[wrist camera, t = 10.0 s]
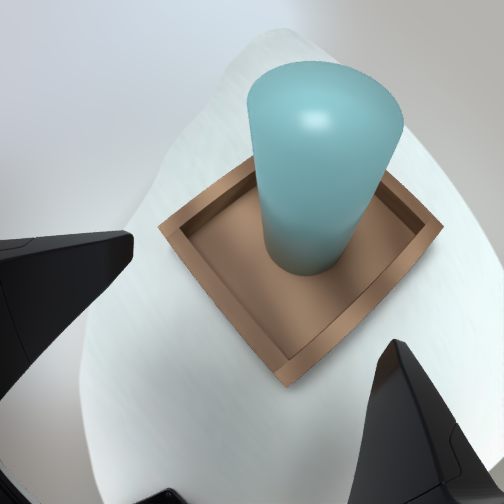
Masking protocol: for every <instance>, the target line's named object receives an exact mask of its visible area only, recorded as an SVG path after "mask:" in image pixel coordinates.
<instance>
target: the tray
mask: <svg viewBox="0 0 504 504" xmlns="http://www.w3.org/2000/svg"><path fill="white" fill-rule="evenodd" d="M443 227H444V226H443V225H442V224H441V223H440V222H439V221H438V220H437V219H436V218H435V217H434V216H433V214H432V213H431V212H430V211H429V210H428V209H427V208H426V207H425V206H424V205H423V204H422V203H421V202H420V201H419V200H418V199H417V198H416V197H415V196H414V195H413V194H412V193H410V192H409V191H408V190H407V189H406V188H405V187H404V186H403V185H402V184H401V183H400V182H399V181H398V180H397V179H395V178H394V177H393V176H392V175H391V174H390V173H389V172H388V171H387V170H385V172H384V174H383V176H382V178H381V180H380V182H379V185H378V187H377V189H376V191H375V193H374V195H373V197H372V199H371V201H370V203H369V205H368V206H367V208H366V210H365V212H364V214H363V216H362V218H361V220H360V222H359V224H358V226H357V228H356V229H355V231H354V233H353V235H352V237H351V239H350V240H349V242H348V244H347V246H346V248H345V250H344V251H343V253H342V255H341V257H340V258H339V260H338V261H337V262H336V263H335V264H334V265H333V266H332V267H331V268H330V269H328V270H326V271H325V272H322V273H320V274H316V275H310V276H302V275H296V274H292V273H290V272H287V271H285V270H284V269H282V268H281V267H279V266H278V265H277V264H276V263H275V262H274V261H273V260H272V259H271V257H270V256H269V254H268V252H267V250H266V247H265V243H264V235H263V226H262V218H261V210H260V202H259V194H258V186H257V178H256V170H255V162H254V155H253V156H252V157H250V158H249V159H247V160H246V161H244V162H243V163H242V164H240V165H239V166H237V167H236V168H234V169H233V170H232V171H230V172H229V173H227V174H226V175H225V176H223V177H222V178H221V179H219V180H218V181H216V182H215V183H214V184H212V185H211V186H210V187H208V188H207V189H206V190H204V191H203V192H202V193H200V194H199V195H198V196H196V197H195V198H194V199H192V200H191V201H190V202H188V203H187V204H186V205H185V206H183V207H182V208H181V209H179V210H178V211H177V212H176V213H174V214H173V215H172V216H170V217H169V218H168V219H167V220H165V221H164V222H163V223H162V224H160V225H159V226H158V228H159V230H160V231H161V233H162V234H163V235H164V237H165V238H166V239H167V241H168V242H169V244H170V245H171V246H172V248H173V249H174V250H175V252H176V253H177V254H178V256H179V257H180V258H181V260H182V261H183V262H184V264H185V265H186V266H187V268H188V269H189V270H190V272H191V273H192V274H193V276H194V277H195V278H196V280H197V281H198V282H199V284H200V285H201V286H202V287H203V289H204V290H205V291H206V293H207V294H208V295H209V296H210V298H211V299H212V300H213V301H214V303H215V304H216V305H217V307H218V308H219V309H220V310H221V312H222V313H223V314H224V315H225V317H226V318H227V319H228V320H229V321H230V323H231V324H232V325H233V326H234V328H235V329H236V330H237V331H238V332H239V334H240V335H241V336H242V337H243V338H244V340H245V341H246V342H247V343H248V344H249V346H250V347H251V348H252V349H253V350H254V352H255V353H256V354H257V355H258V356H259V357H260V359H261V360H262V361H263V362H264V363H265V364H266V366H267V367H268V368H269V369H270V370H271V371H272V373H273V374H274V375H275V376H276V377H277V378H278V379H279V380H280V382H281V383H282V384H283V385H284V386H285V387H286V388H287V387H288V386H290V385H291V384H292V383H293V382H295V381H296V380H297V379H298V378H299V377H301V376H302V375H303V374H304V373H305V372H307V371H308V370H309V369H310V368H311V367H312V366H314V365H315V364H316V363H317V362H318V361H319V360H320V359H321V358H323V357H324V356H325V355H326V354H327V353H328V352H329V351H330V350H331V349H333V348H334V347H335V346H336V345H337V344H338V343H339V342H340V341H341V340H342V339H343V338H344V337H345V336H346V335H348V334H349V333H350V332H351V331H352V330H353V329H354V328H355V327H356V326H357V325H358V324H359V323H360V322H361V321H362V320H363V319H364V318H365V317H366V316H367V315H368V314H369V313H370V312H371V311H372V310H373V309H374V308H375V307H376V306H377V305H378V303H379V302H380V301H381V300H382V299H383V298H384V297H385V296H386V295H387V294H388V293H389V292H390V291H391V290H392V288H393V287H394V286H395V285H396V284H397V283H398V282H399V281H400V280H401V278H402V277H403V276H404V275H405V274H406V273H407V272H408V270H409V269H410V268H411V267H412V266H413V265H414V263H415V262H416V261H417V260H418V259H419V257H420V256H421V255H422V254H423V253H424V251H425V250H426V249H427V248H428V246H429V245H430V244H431V243H432V241H433V240H434V239H435V238H436V236H437V235H438V234H439V232H440V231H441V230H442V229H443Z"/></svg>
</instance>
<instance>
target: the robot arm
mask: <svg viewBox="0 0 504 504" xmlns="http://www.w3.org/2000/svg"><path fill="white" fill-rule="evenodd" d="M133 249H134V237H133V235H132V234H131V233H129V232H126V231H124V230H121V231H107V232H93V233H81V234H69V235H56V236H45V237H36V238H23V239H10V240H0V401H1V399H2V398H3V397H4V396H5V394H6V393H7V392H8V391H9V390H10V389H11V388H12V386H13V385H14V384H15V383H16V382H17V381H18V380H19V378H20V377H21V376H22V375H23V374H24V373H25V371H26V370H27V369H28V368H29V367H30V366H31V365H32V364H33V362H34V361H35V360H36V359H37V358H38V357H39V356H40V355H41V354H42V353H43V352H44V350H46V349H47V348H48V346H49V345H50V344H51V343H52V342H53V341H54V340H55V339H56V338H57V337H58V336H59V335H60V334H61V333H62V332H63V331H64V330H65V329H66V328H67V327H68V326H69V325H70V324H71V323H72V322H73V321H74V320H75V319H76V318H77V317H78V316H79V315H80V314H81V313H82V312H83V311H84V310H85V309H86V308H87V307H88V306H89V305H90V304H91V303H92V302H93V301H94V300H95V299H97V298H98V297H99V296H100V295H101V294H102V293H103V292H104V291H105V290H106V289H107V288H108V287H109V286H110V284H111V283H112V282H113V281H114V280H115V279H116V278H117V276H118V275H119V274H120V273H121V272H122V271H123V270H124V269H125V267H126V266H127V265H128V264H129V263H130V262H131V260H132V258H133ZM167 492H168V493H170V494H171V496H170V495H168V494H167ZM0 504H41V503H39V501H38V500H36V499H35V498H34V497H33V496H32V495H31V494H30V493H29V492H28V491H27V489H26V488H25V487H23V485H22V484H21V483H20V482H19V481H18V480H17V479H16V478H15V477H14V475H13V474H12V473H11V472H10V471H9V470H8V469H7V467H6V466H5V465H4V464H3V463H2V462H1V460H0ZM134 504H186V503H185V502H184V501H183V500H182V499H181V498H180V496H179V495H178V494H177V493H176V492H175V491H174V490H172V489H170V488H167V489H164V490H162V491H160V492H158V493H156V494H154V495H152V496H150V497H148V498H145V499H143V500H141V501H139V502H136V503H134ZM347 504H504V492H503V491H501V490H500V489H499V488H498V486H497V485H496V484H495V482H494V480H493V479H492V477H491V476H490V474H489V473H488V471H487V469H486V468H485V466H484V465H483V463H482V462H481V460H480V459H479V457H478V456H477V454H476V453H475V451H474V450H473V448H472V446H471V445H470V443H469V442H468V440H467V438H466V437H465V435H464V433H463V432H462V430H461V428H460V426H459V425H458V423H456V420H455V418H454V416H453V415H452V413H451V412H450V410H449V408H448V407H447V405H446V403H445V402H444V400H443V399H442V397H441V395H440V394H439V392H438V391H437V389H436V388H435V386H434V384H433V383H432V381H431V380H430V378H429V377H428V375H427V374H426V372H425V371H424V369H423V368H422V366H421V365H420V363H419V362H418V360H417V359H416V357H415V356H414V354H413V353H412V352H411V350H410V349H409V347H408V346H407V344H406V343H405V342H403V341H400V340H397V339H393V340H392V341H391V342H390V343H389V344H388V346H387V348H386V349H385V350H384V352H383V353H382V355H381V356H380V358H379V360H378V363H377V367H376V371H375V376H374V380H373V385H372V389H371V393H370V397H369V401H368V405H367V411H366V418H365V424H364V430H363V436H362V442H361V447H360V452H359V457H358V462H357V467H356V471H355V476H354V480H353V484H352V488H351V492H350V496H349V500H348V503H347Z"/></svg>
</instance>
